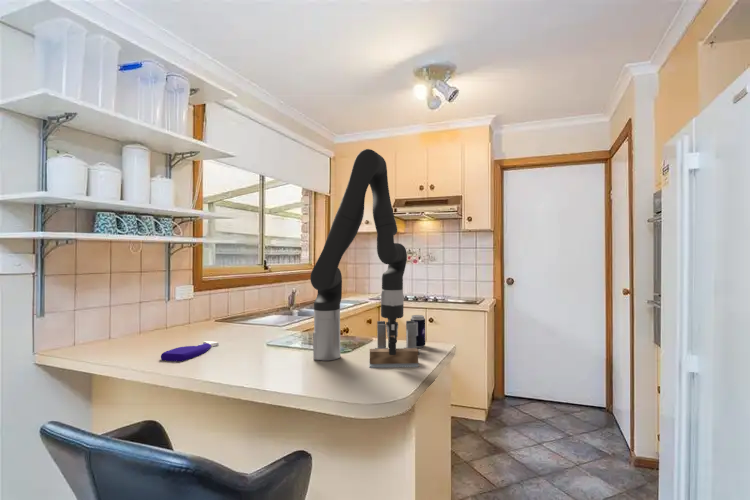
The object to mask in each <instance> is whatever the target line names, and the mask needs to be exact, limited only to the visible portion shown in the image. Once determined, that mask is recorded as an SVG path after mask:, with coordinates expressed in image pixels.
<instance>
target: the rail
mask: <svg viewBox="0 0 750 500" xmlns="http://www.w3.org/2000/svg"><path fill="white" fill-rule="evenodd" d="M417 349H418V348H406V347H403V348H402V347H401V348H399V347H398V348H397V347H396V355H389V348H388V349H375V348H369V365H370V364H407V363H418V364H419V355H418V351H419V349H418V350H417Z"/></svg>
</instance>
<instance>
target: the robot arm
mask: <svg viewBox="0 0 750 500" xmlns="http://www.w3.org/2000/svg"><path fill="white" fill-rule="evenodd" d="M387 168H388V167H387V162H386V160H385V158H384V157H383V156H382V155H381V154H379V153H377V152H376V151H375V150H373V149H372V148H371V149H370V148H365V149H363V150H361V151H360V152H359V153H358V154H357V155H356V157H355V159H354V161H353V165H352V169H351V171H350V176H349V180H348V182H347V186H346V188H345V191H344V193H343V196H342V198H341V202H340V204H339V207H338V209H337V211H336V213H335V216H334V218H333V221H332V224H331V226H330V230H329V232H328V234H327V237H326V239H325V243H324V246H323V248H322V251H321V252H320V255H319V257H318V258H317V260H316V262H315V264H314V266H313V269H312V270H311V273H310V284H311V286H312V287H313V288H314V290H317V294H316V298H315V300H314V301H313V332H312V340H313V341H312V342H313V343H312V345H313V346H312V351H313V352H312V353H313V360H316V361H317V360H318V361H334V360H338V359H340V358H341V302H342V297H343V293H342V292H343V291H342V290H343V276H342V272H341V270H340V268H339V265H340V263H341V260H342V258H343V256H344V254H345V253H346V251H347V250H348V249H349V247H350V246H351V244H352V243H353V241H354V240H355V238H356V236H357V234H358V233H359V229H360V227H361V224H362V221H363V219H364V212H365V200H366V193H367V190H368V188H369V187H370V190H371V194H372V218H373V222H374V227H375V230H376V231H375V232H376V254H377V255H378V256H377V257H378V258H379V260H380V261H381V262H382V264H385V265H387V270H386V271H385V272H383V273H382V276H381V293H380V316H381V317H382V318H384V319H387V321H385V324H386V338H388V341H387V342H388V343H387V344H388V346H387V348H388V349H389V355H396V348H397V343H398V337H399V334H398V333H399V332H398V331H399V322H398V321H397V319H401V318H403V317H404V305H405V303H404V301H405V300H404V299H405V298H404V274H405V270H406V266H407V265H406V264H407V260H408V253H407V249H406V247H405V246H404V245H403V244H402V243H398V242H395V238H394V236H395V235H396V234H398V233H397V232H398V227H397V226H398V225H397V222H396V218H395V213H394V210H393V205H392V201H391V195H390V189H389V181H388V169H387Z"/></svg>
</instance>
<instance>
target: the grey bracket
mask: <svg viewBox="0 0 750 500" xmlns="http://www.w3.org/2000/svg"><path fill="white" fill-rule="evenodd" d="M405 327H406V329H405V334H406V336H405V337H406V338H405V339H406V340H405V341H406V345H405V348H417V347H416V324H414V321H411V320H406V321H405ZM417 350H418V356H419V355H420V351H419V348H417Z"/></svg>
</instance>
